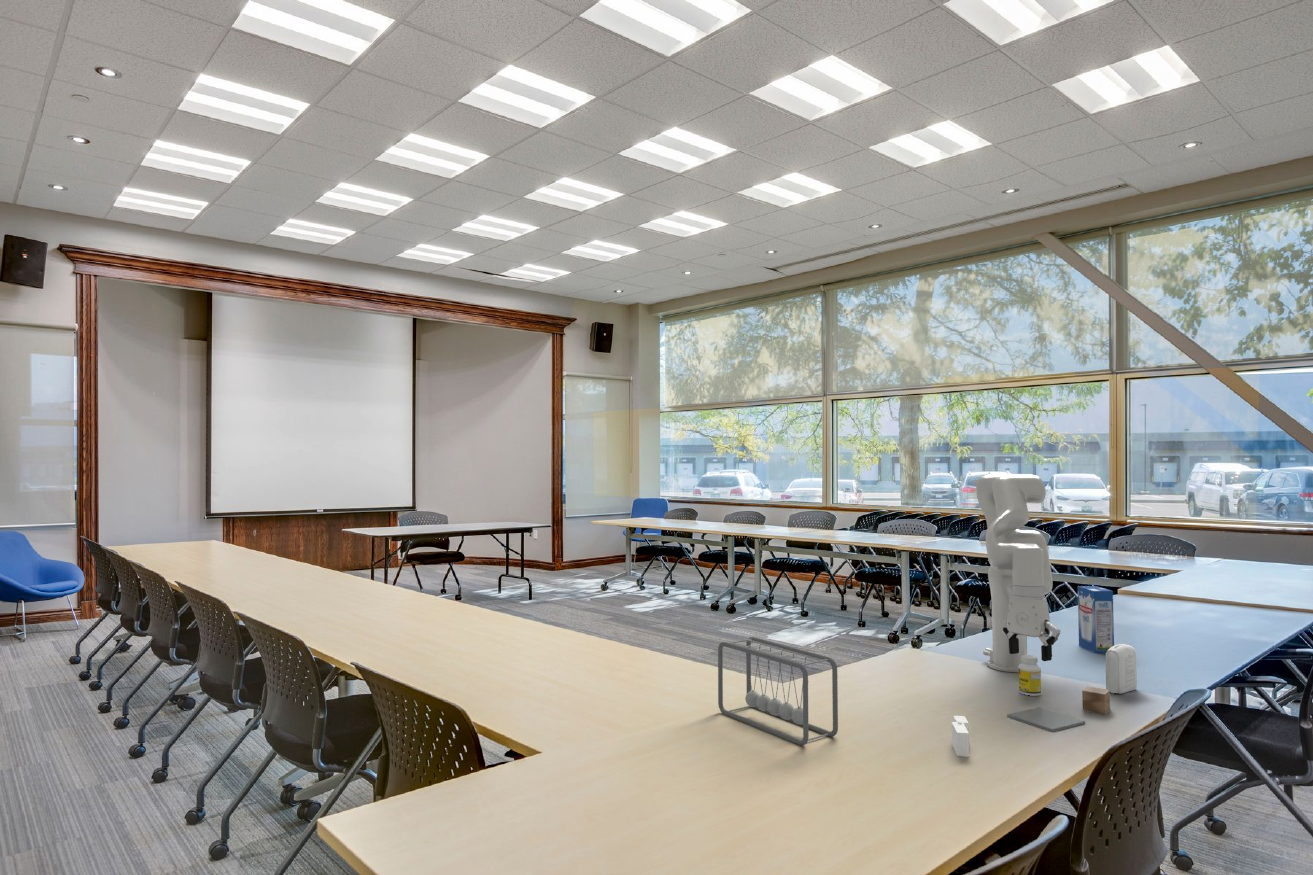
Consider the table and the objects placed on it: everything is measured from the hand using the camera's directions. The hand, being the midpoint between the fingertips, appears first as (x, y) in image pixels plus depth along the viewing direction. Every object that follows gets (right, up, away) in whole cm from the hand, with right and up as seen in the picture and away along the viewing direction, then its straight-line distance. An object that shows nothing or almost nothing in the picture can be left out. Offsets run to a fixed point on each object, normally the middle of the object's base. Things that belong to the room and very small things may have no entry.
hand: (1030, 656), depth 206 cm
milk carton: (+46, -12, +49) cm, 68 cm away
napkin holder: (-33, -9, -38) cm, 51 cm away
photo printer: (+26, -10, +3) cm, 28 cm away
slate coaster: (-6, -9, -21) cm, 24 cm away
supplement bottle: (0, -10, +1) cm, 10 cm away
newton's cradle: (-72, -10, -24) cm, 76 cm away
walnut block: (+10, -10, -14) cm, 19 cm away
